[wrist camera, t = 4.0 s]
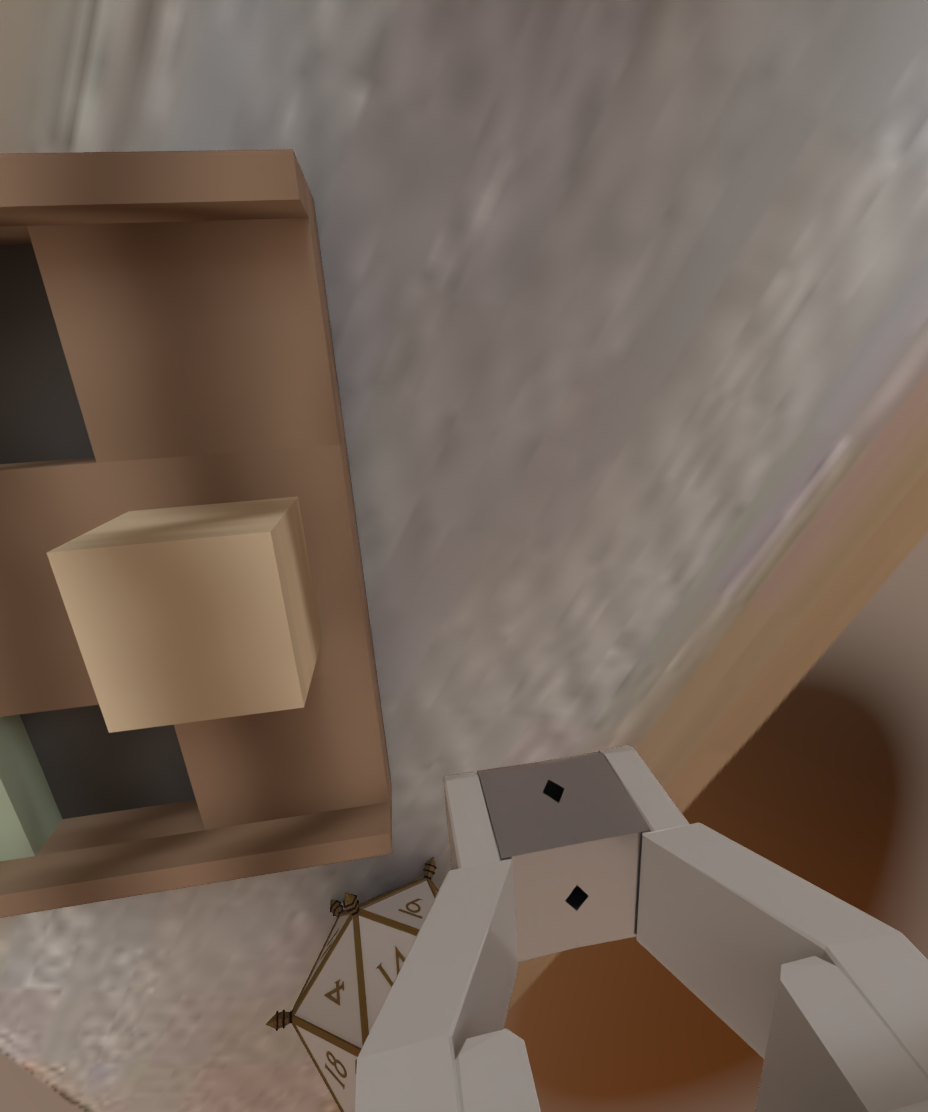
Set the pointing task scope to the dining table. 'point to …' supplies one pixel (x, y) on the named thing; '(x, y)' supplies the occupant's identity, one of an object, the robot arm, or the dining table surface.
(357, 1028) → the game die
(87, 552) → the beech block
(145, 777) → the box
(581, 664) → the dining table surface
